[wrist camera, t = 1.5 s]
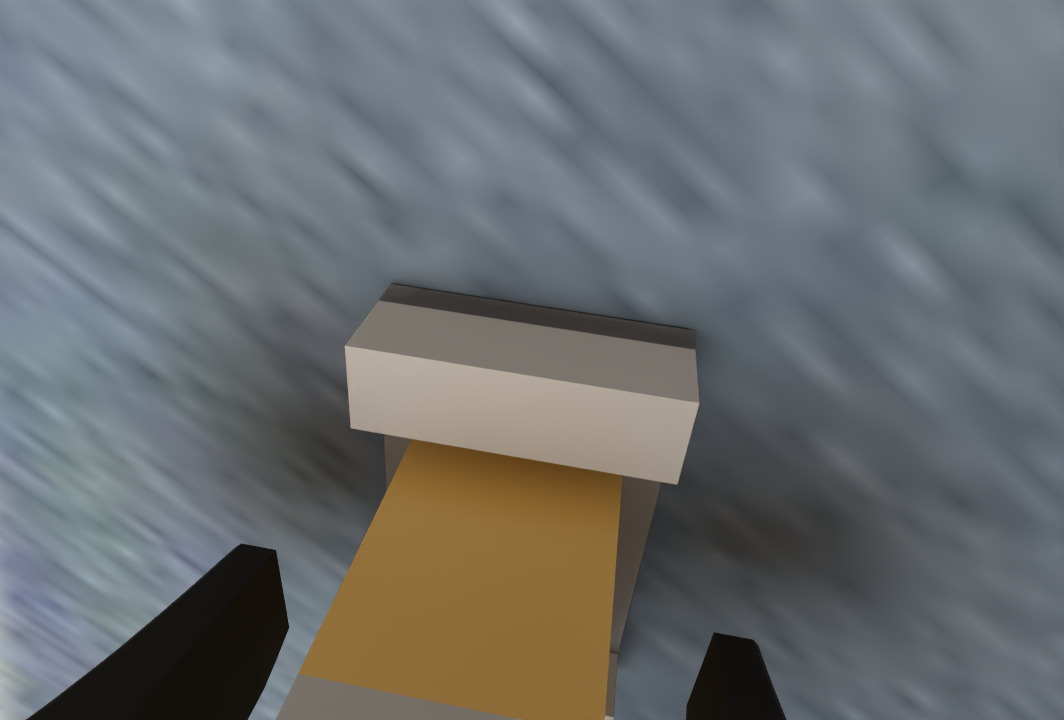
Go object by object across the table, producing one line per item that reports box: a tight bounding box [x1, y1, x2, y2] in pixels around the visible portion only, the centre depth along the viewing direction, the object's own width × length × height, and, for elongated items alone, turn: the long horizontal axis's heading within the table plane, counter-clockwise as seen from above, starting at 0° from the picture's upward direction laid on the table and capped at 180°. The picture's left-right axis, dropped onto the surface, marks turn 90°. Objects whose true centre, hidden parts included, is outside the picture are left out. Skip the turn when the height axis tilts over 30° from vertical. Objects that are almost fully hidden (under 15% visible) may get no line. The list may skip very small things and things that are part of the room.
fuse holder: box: [345, 284, 699, 720], centre depth 13 cm, size 5×9×2 cm, turn 175°
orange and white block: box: [276, 439, 622, 720], centre depth 11 cm, size 4×5×6 cm
